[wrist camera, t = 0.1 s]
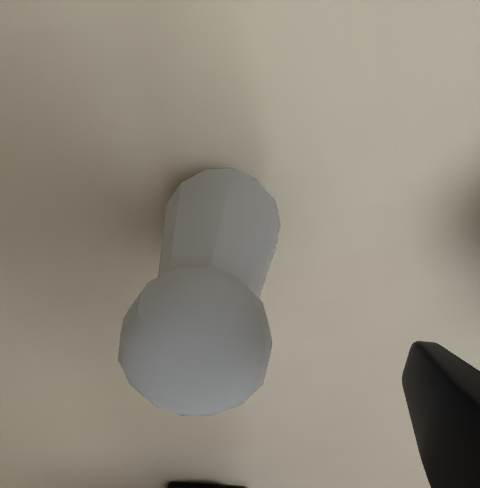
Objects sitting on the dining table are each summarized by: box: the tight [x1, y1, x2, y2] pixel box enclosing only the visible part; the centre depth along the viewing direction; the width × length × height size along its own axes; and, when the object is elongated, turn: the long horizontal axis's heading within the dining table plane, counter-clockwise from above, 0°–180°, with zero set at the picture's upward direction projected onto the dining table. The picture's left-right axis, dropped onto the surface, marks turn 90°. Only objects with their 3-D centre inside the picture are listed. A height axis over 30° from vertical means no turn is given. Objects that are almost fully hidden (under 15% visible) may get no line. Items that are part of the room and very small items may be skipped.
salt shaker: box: [118, 168, 280, 416], centre depth 16 cm, size 6×6×13 cm
